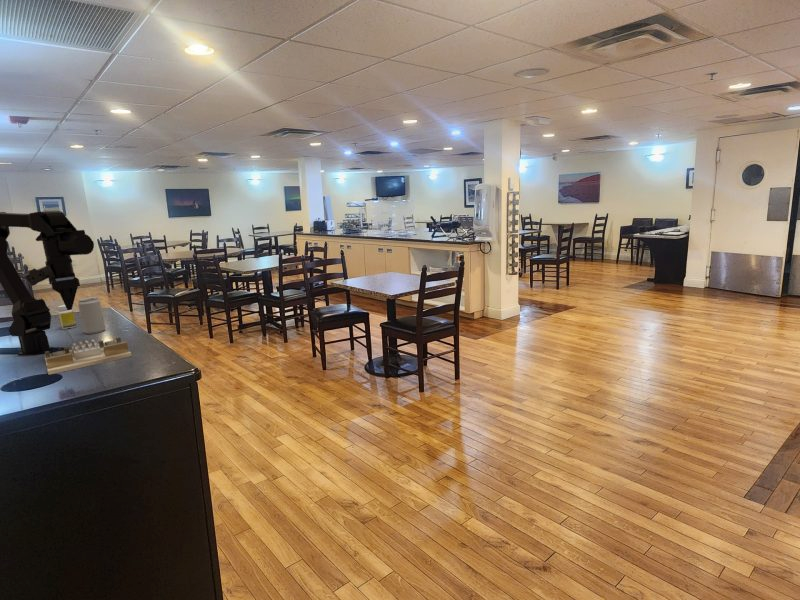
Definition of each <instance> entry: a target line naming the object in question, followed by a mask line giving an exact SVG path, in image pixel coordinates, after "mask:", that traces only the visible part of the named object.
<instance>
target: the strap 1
mask: <svg viewBox="0 0 800 600" xmlns="http://www.w3.org/2000/svg"><path fill="white" fill-rule="evenodd" d="M63 351H64V350H58V351H54V352H51V353H50V354H51V355H52V356H53V357H54V356H59V355H64V352H63Z"/></svg>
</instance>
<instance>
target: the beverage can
mask: <svg viewBox="0 0 800 600" xmlns="http://www.w3.org/2000/svg"><path fill="white" fill-rule="evenodd" d="M77 306H78V309H79V310H78V311H79V315H80V320H81V325H82V330H83V333H85V334H86V335H93V334H98V333H99V334H100V333H102V332H104V331H103V330H106V324H105V319H104V315H103V309H102V306H101V300H100V299H99V297H98V296H91V297H84V298H80V299H78V303H77Z"/></svg>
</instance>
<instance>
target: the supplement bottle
mask: <svg viewBox="0 0 800 600" xmlns="http://www.w3.org/2000/svg"><path fill="white" fill-rule="evenodd" d="M57 310H58V312H57V317H58V320H59V321H58V322H59V325H60V329H61V330H68V329H67V328H71V329H74V328H77V322H76V318H75V313H74V309H72V310H67V308H66V306H65V304H62V305H58V306H57ZM73 327H74V328H73Z"/></svg>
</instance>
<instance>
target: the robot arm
mask: <svg viewBox="0 0 800 600" xmlns="http://www.w3.org/2000/svg"><path fill="white" fill-rule="evenodd" d="M10 227H12V228H28V229H30V230H32V231H34V232H39V235H38V236H37V237H36V238H35V241H36V242H41V243H42V247H43V252H44V255H45V262H44V263H45V266H42V267H40V268H38V269H37V268H33V269H31V270H28V273H25V274H24V275H23V277H24V279H25V280H26V281H27V283H28V284H29V285H30V287H34V286H36V285H37V284H39V283H41V282H43V281H45V280H48V283H49V285H51V289H52V290H53V291H55V292H56V293H58V294H59V295H60V297H61V299H62V302H63V303H64V304H63V305H65V306H66V308H67V310H73V307H74V304H75V303H74V301H75V299H76V296H77V295H76V294H77V291H78V287H80V286H81V285H80V284H81V283H80V279H79V278H77V277H76V275H75V272H74V265H73V259H72V257H71V256H81V255H82V256H83V255H89V254H91V253H92V252H93V251H94V248H95V244H94V241H93V240H92V238H91V237H90V235H88V234H86V231H85V229H79V230H77V227H75V225H74V224H73V223H72V222H71V221H70V220H69V219H68V217H67V216H66V215H65V213H64V212H63V211H60V210H53V211H52V210H49V211H44V210H43V211H34V212H30V213H14V212H5V211H0V285H1V287H2V288H3V290H4V291H5V293H6V295H7V297H8V299H9V300H10V301H11V303H12V307H11V308H12V309H11V316H12V318H13V321H12V323H11V325H10V326H9V329H8V332H9V334H10V336H11V337H18V341H19V345H20V349H21V352H18V353H17V356H31V355H39V354H42V353H45V352H46V351H49V350H52V349H54V346H50V343H49V339H48V335H47V333H46V330H49V329H51V323H52V321H51V320H52V315H51V312H50V311H51V309H50V308H49V307H48V305H47V303H46V302H45V300H44V299H43V298H39V299H37V298H36V297H33V296H32V294H31V292H30V291H29V289H28V287H27V286H26V284H25V283H24V281H23V279H22V278H21V275H20V274H19V273H18V270H17V269H16V267H15V266H14V264H13V262H12V260H11V259H10V257H9V256H8V249H9V248H8V247H9V244H8V241H7V239H8V237H9V236H10V234H11V232H10Z"/></svg>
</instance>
